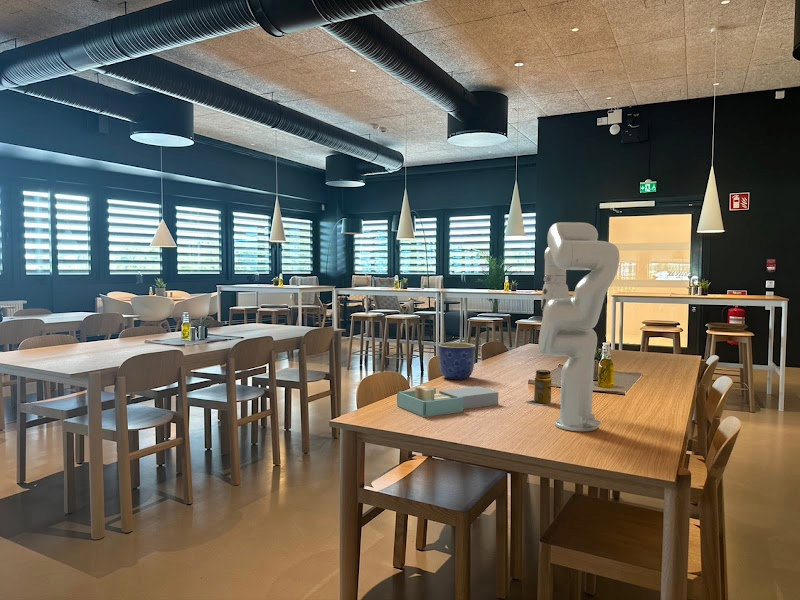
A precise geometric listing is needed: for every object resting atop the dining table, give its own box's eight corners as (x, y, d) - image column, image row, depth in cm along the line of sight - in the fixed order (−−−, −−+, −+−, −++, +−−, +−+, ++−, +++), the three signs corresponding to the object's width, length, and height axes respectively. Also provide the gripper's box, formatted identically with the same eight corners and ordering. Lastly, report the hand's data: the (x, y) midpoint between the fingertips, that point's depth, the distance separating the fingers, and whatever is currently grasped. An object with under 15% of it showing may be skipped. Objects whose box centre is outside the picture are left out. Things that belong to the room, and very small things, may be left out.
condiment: (555, 403, 209) (556, 371, 209) (540, 406, 205) (540, 373, 204) (541, 399, 215) (541, 368, 215) (525, 402, 211) (525, 370, 210)
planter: (435, 380, 251) (436, 346, 250) (439, 374, 268) (440, 342, 267) (474, 382, 248) (474, 347, 248) (475, 375, 265) (476, 343, 264)
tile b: (434, 389, 195) (425, 390, 193) (434, 409, 195) (425, 410, 194) (423, 385, 201) (415, 386, 199) (423, 405, 201) (415, 406, 200)
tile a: (450, 407, 199) (450, 397, 199) (433, 409, 196) (433, 399, 196) (439, 403, 205) (439, 393, 205) (423, 405, 202) (423, 395, 202)
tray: (463, 411, 195) (463, 397, 195) (423, 417, 187) (424, 402, 187) (434, 401, 210) (434, 387, 210) (397, 405, 202) (397, 392, 202)
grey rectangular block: (498, 404, 206) (498, 392, 206) (458, 409, 197) (458, 397, 197) (477, 398, 217) (478, 386, 216) (438, 402, 208) (439, 390, 208)
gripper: (547, 280, 198) (546, 332, 199) (577, 280, 206) (576, 331, 207) (532, 280, 205) (531, 330, 206) (562, 280, 212) (561, 329, 213)
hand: (554, 330), depth 206 cm, fingers closed
